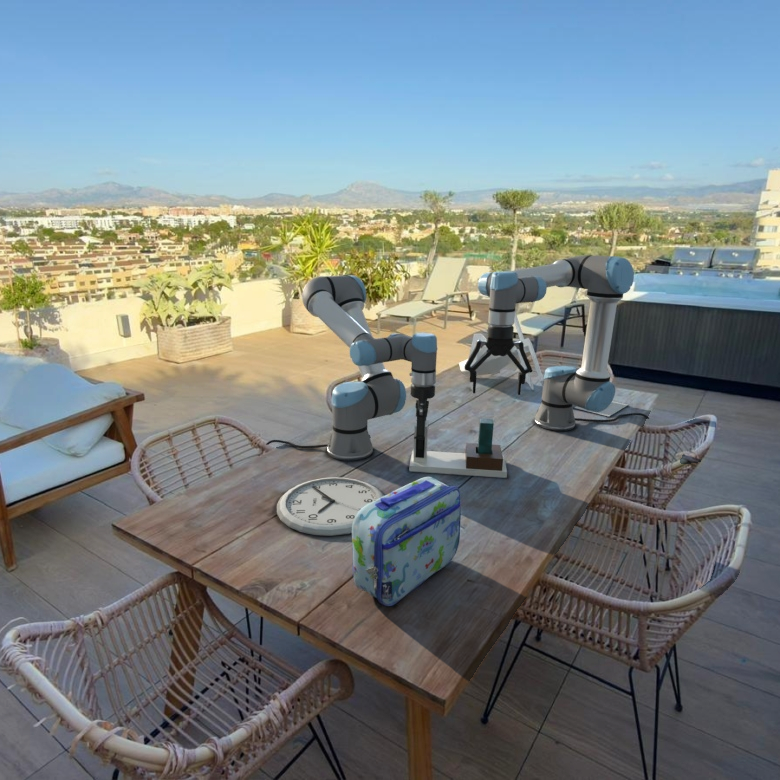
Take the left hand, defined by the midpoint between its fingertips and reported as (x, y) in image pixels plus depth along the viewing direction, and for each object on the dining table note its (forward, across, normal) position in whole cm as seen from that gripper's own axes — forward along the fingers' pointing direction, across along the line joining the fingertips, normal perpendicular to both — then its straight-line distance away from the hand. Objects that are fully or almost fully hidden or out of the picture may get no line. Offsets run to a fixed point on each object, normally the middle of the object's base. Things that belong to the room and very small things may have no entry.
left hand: (420, 452), depth 168 cm
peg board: (+4, 0, +12) cm, 13 cm away
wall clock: (+4, +30, -22) cm, 37 cm away
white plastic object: (+4, -97, +32) cm, 102 cm away
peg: (+2, 0, +20) cm, 20 cm away
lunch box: (+4, +58, +1) cm, 58 cm away
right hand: (-21, -2, +23) cm, 31 cm away
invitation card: (+4, -69, +74) cm, 101 cm away
